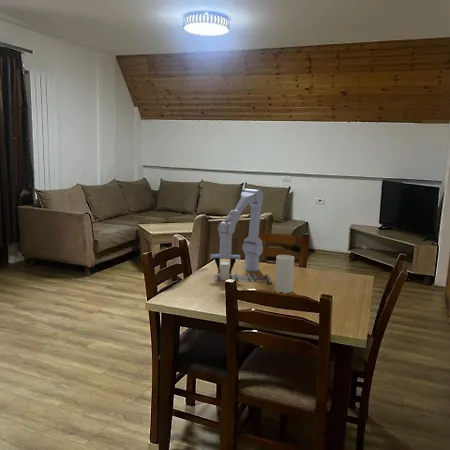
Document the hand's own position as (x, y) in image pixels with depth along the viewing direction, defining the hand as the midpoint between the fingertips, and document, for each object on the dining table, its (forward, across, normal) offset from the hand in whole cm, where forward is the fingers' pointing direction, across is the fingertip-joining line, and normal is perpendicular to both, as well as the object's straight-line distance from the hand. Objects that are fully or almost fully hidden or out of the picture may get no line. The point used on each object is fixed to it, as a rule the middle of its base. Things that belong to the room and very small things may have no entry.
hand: (224, 273), depth 224 cm
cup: (+4, +27, -14) cm, 31 cm away
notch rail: (+3, +9, 0) cm, 10 cm away
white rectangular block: (+2, 0, 0) cm, 2 cm away
